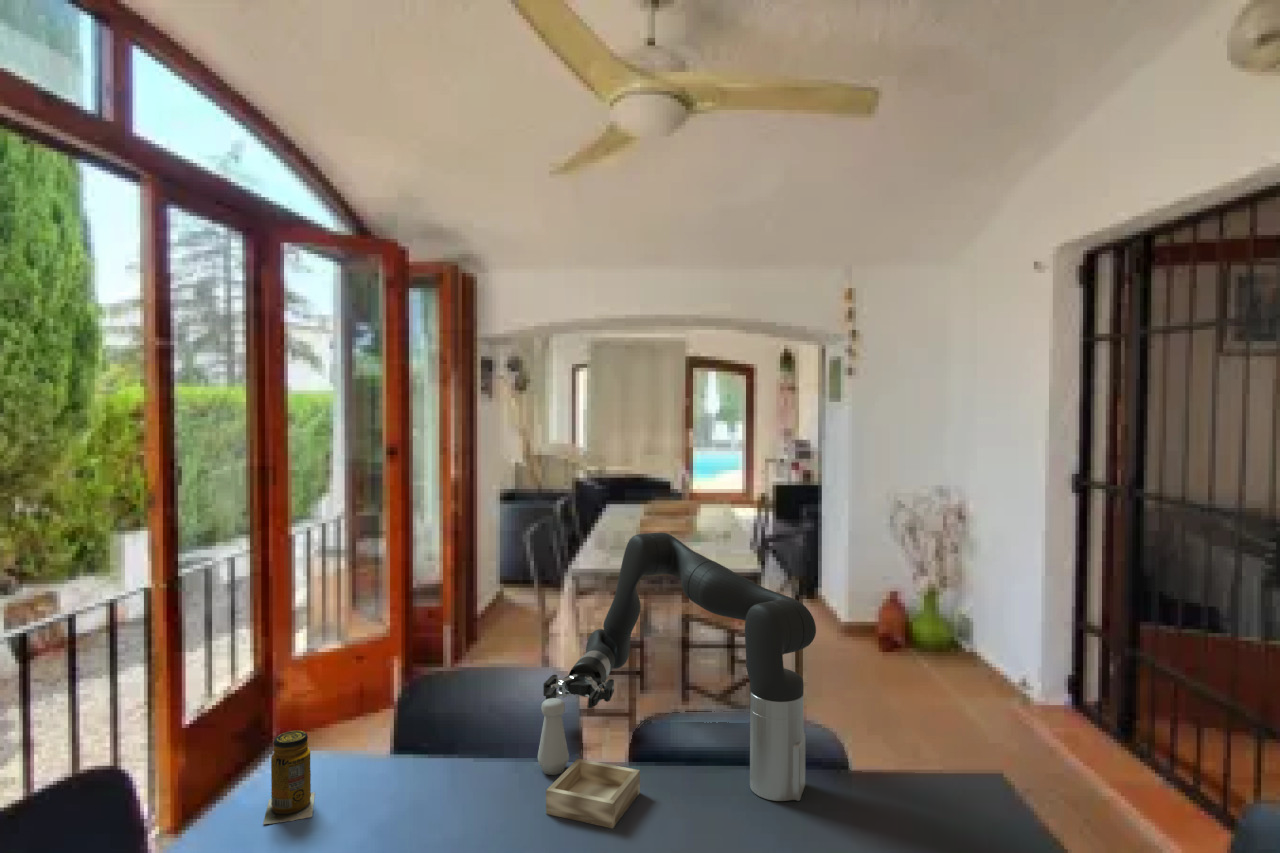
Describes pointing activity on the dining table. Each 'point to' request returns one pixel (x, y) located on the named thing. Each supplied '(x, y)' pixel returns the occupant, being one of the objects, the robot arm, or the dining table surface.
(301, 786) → the condiment
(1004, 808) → the dining table surface
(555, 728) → the salt shaker
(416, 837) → the dining table surface
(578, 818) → the serving bin
